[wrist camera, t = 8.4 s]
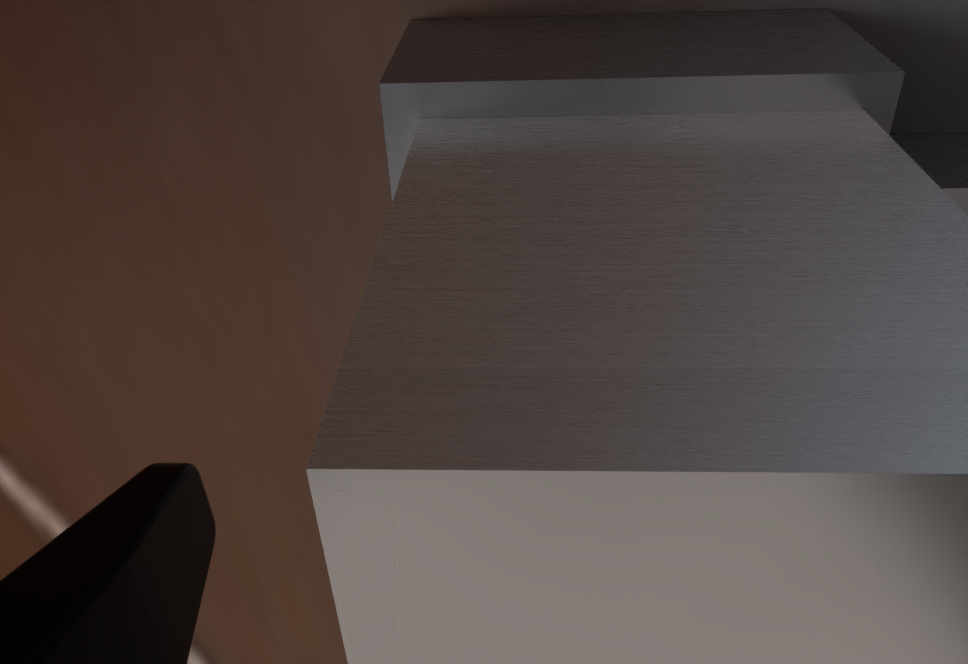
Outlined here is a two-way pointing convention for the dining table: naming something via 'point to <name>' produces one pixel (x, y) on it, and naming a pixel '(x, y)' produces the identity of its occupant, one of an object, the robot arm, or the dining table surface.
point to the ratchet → (650, 74)
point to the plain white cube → (654, 399)
